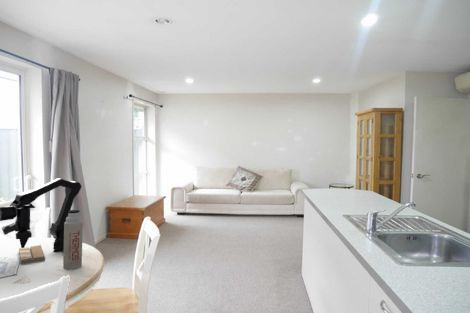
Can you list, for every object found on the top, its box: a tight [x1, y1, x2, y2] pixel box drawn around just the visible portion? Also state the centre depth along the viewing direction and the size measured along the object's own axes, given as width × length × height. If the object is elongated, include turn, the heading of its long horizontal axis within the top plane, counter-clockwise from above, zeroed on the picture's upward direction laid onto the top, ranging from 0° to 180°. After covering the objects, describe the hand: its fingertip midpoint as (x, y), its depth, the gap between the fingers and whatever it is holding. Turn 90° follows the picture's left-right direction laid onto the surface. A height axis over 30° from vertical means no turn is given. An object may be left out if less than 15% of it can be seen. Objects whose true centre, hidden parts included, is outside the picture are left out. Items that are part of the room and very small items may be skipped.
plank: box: [18, 246, 32, 261], centre depth 152 cm, size 19×4×1 cm, turn 39°
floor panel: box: [18, 244, 46, 265], centre depth 154 cm, size 20×10×2 cm, turn 38°
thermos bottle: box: [62, 209, 84, 271], centre depth 143 cm, size 8×8×28 cm
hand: (22, 247), depth 149 cm, fingers closed
